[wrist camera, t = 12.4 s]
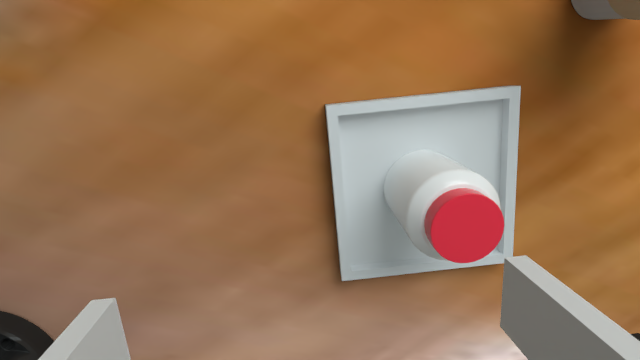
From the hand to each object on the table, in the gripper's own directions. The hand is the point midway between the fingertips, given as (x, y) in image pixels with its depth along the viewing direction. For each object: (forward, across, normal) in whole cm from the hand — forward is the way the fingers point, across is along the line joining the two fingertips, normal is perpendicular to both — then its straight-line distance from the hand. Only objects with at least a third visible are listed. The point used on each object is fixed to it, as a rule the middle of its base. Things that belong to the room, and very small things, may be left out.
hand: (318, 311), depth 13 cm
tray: (+25, +12, -4) cm, 28 cm away
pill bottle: (+25, +12, -4) cm, 28 cm away
